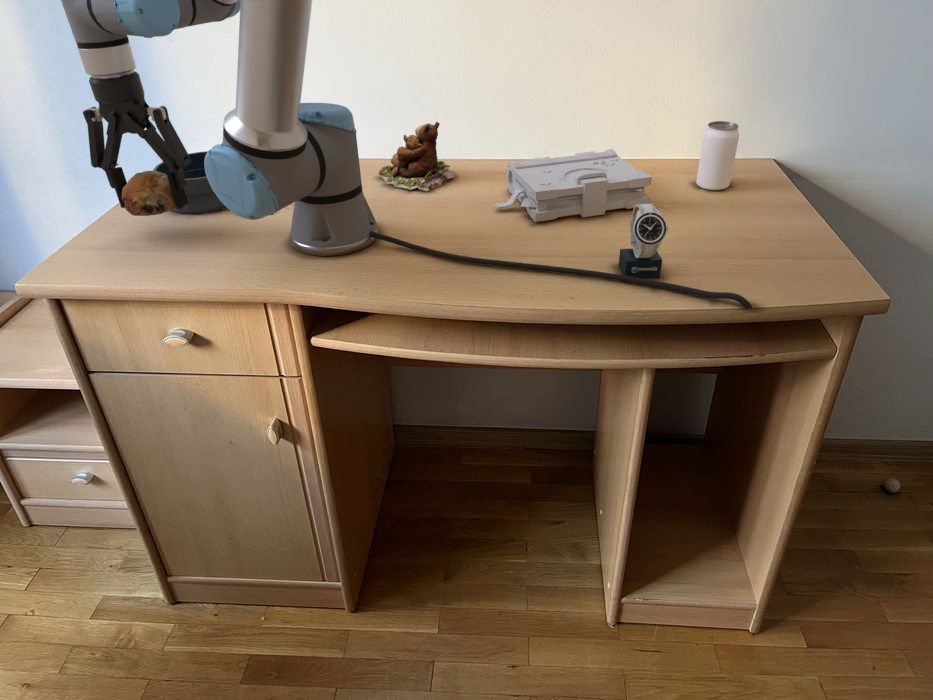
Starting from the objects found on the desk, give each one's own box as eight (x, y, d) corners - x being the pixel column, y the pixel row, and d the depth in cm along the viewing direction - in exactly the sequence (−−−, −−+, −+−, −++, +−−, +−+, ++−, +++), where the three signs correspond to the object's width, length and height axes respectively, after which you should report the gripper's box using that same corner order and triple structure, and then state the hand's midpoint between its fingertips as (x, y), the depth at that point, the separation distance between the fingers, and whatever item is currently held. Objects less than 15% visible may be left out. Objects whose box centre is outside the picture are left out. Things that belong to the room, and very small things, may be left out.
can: (731, 191, 133) (743, 130, 126) (697, 190, 134) (708, 129, 127) (726, 180, 138) (737, 120, 132) (693, 179, 139) (703, 120, 132)
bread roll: (195, 217, 125) (192, 173, 123) (164, 215, 114) (161, 166, 113) (144, 218, 126) (141, 174, 124) (110, 215, 116) (106, 167, 114)
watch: (627, 285, 103) (635, 218, 97) (615, 261, 110) (622, 197, 104) (663, 283, 103) (674, 216, 97) (649, 260, 110) (658, 195, 104)
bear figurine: (414, 163, 153) (410, 108, 146) (464, 176, 144) (462, 119, 138) (369, 180, 144) (363, 122, 138) (419, 196, 136) (415, 135, 129)
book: (481, 192, 137) (480, 155, 132) (608, 176, 142) (611, 140, 138) (510, 230, 121) (511, 189, 117) (652, 210, 127) (657, 170, 122)
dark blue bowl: (265, 197, 138) (258, 163, 134) (183, 221, 129) (173, 186, 125) (227, 177, 149) (220, 145, 145) (150, 198, 140) (140, 165, 136)
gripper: (189, 67, 109) (223, 198, 122) (64, 69, 113) (109, 197, 125) (166, 77, 103) (204, 214, 116) (34, 80, 106) (84, 212, 119)
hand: (154, 205), depth 120 cm, fingers closed on bread roll, 10 cm apart
